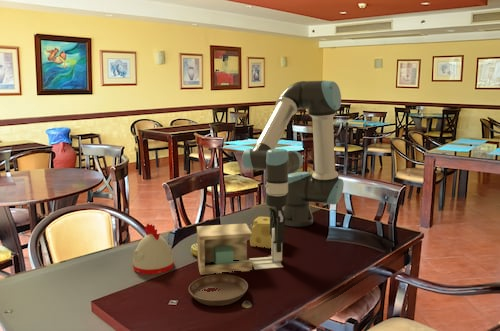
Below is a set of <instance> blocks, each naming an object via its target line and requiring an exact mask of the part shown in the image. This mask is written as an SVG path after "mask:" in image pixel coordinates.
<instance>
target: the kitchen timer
mask: <svg viewBox="0 0 500 331" xmlns="http://www.w3.org/2000/svg"><path fill="white" fill-rule="evenodd" d="M144 232H145V234H146V235H145V236H143V238H142V239H140V241H139V243H138V245H137V246H136V248H135V249H134V250H133V260H132V268H133V271H134V272H136V273H139V274H143V275H156V274H162V273H165V272H168V271H170V270H171V269H173V267H174V265H175V260H174V255H173V252H172V250H173V249H172V245H169V244H168V242H167V241H166V239H165V237H163V236H161V235H160V233H158V229H156V227H155V225H153V223H152V224H150V223H147V224H146V226H144Z"/></svg>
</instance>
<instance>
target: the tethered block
mask: <svg viewBox="0 0 500 331" xmlns="http://www.w3.org/2000/svg"><path fill="white" fill-rule="evenodd" d="M273 241H275V228H272V256H271V257H272V258H267V259H254V260H250V259H247V260H239V261H233V249H232V247H231V246H216V247H214V262H213V263H214V264H213V265H217V264H230V263H243V262H258V261H271V260H272V262H273V263H282V260H279V261H274V244H273Z"/></svg>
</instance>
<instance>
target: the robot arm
mask: <svg viewBox="0 0 500 331" xmlns="http://www.w3.org/2000/svg"><path fill="white" fill-rule="evenodd" d="M341 105H342V94H341V89H340V87H339V84H338V83H336V81H334V80H301V81H296V82H294V83H293V84H291V85H289V86H287V88H286V89H284V90H283V91H282V92H281V93H280V94H279V96H278V97H277V99H276V101H275V108H274V110H273V111H272V113H271V115H270V117H269V119H268V121H267V122H266V124H265V126H264V128H263V129H262V132H261V134H260V135H259V137H258V139H257V141H256V142H255V144H254V146H253V148H248V149H247V148H246V149H245V150H244V151H243V153H242V154H241V155H242V156H241V163H242V165H243V167H244V168H245V169H249V170H254V171H255V170H258V171H265V173H266V179H265V180H266V181H265V183H266V184H265V185H264V188H265V189H266V190H265V192H266V195H265V200H266V202H265V203H266V204H265V205H267V206H268V210H269V217H270V235H271V238H272V228H275V241H273V244H274V261H279V260H281V261H283V244H284V243H285V226H288V227H295V228H296V227H297V228H298V227H300V228H301V227H308V226H310V225H312V224H313V223H314V216H313V213H312V211H311V207H310V203H316V204H325V205H327V206H328V205H337V204H339V202H340V201H341V198H342V195H343V191H344V185H345V184H344V180H343V179H342V178H340V177H339V172H338V171H336V167H335V164H336V163H335V162H336V161H335V136H334V135H335V134H334V116H335V115H336V114H337V111H338V110H339V109H340V108H341ZM299 110H308V116H310V117H311V119H312V135H313V137H312V140H313V157H314V158H313V159H314V160H313V161H314V171H313V172H312V174H311V173H310V172H309V171H298V170H299V169H301V167H302V166H303V163H304V158H303V155H302V154H301V153H300V151H299V152H298V150H297V151H296V150H287V149H285V148H276V147H277V145H278V143H279V142H280V140H281V138H282V135H283V133H284V132H285V130H286V128H287V126H288V124H289V122H290V121H291V119H292V117H293V116H294V115H295V114H297V111H299ZM296 171H297V172H296ZM270 252H271V255H270V257H272V239H271V251H270Z"/></svg>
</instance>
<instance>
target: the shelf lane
mask: <svg viewBox="0 0 500 331" xmlns="http://www.w3.org/2000/svg"><path fill="white" fill-rule="evenodd" d="M250 237H252V232H251V228H249V226H248V224H247V223H231V224H230V223H229V224H215V225H199V226H196V241H197V242H196V243H197V253H198V257H197V265H198V270H199V274H200V275H201V276H202V275H203V276H204V275H215V274H214V273H216V274H223V273H222V272H229V273H235V272H234V271H241V272H251V271H250V270H252V271H253V265H252V262H243V263H230V264H217V265H215V264H210V263H211V262H213V263H214V247H216V246H231V247H232V249H233V260H239V261H241V260H248V240H247V239H248V238H250ZM232 271H233V272H232Z"/></svg>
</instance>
